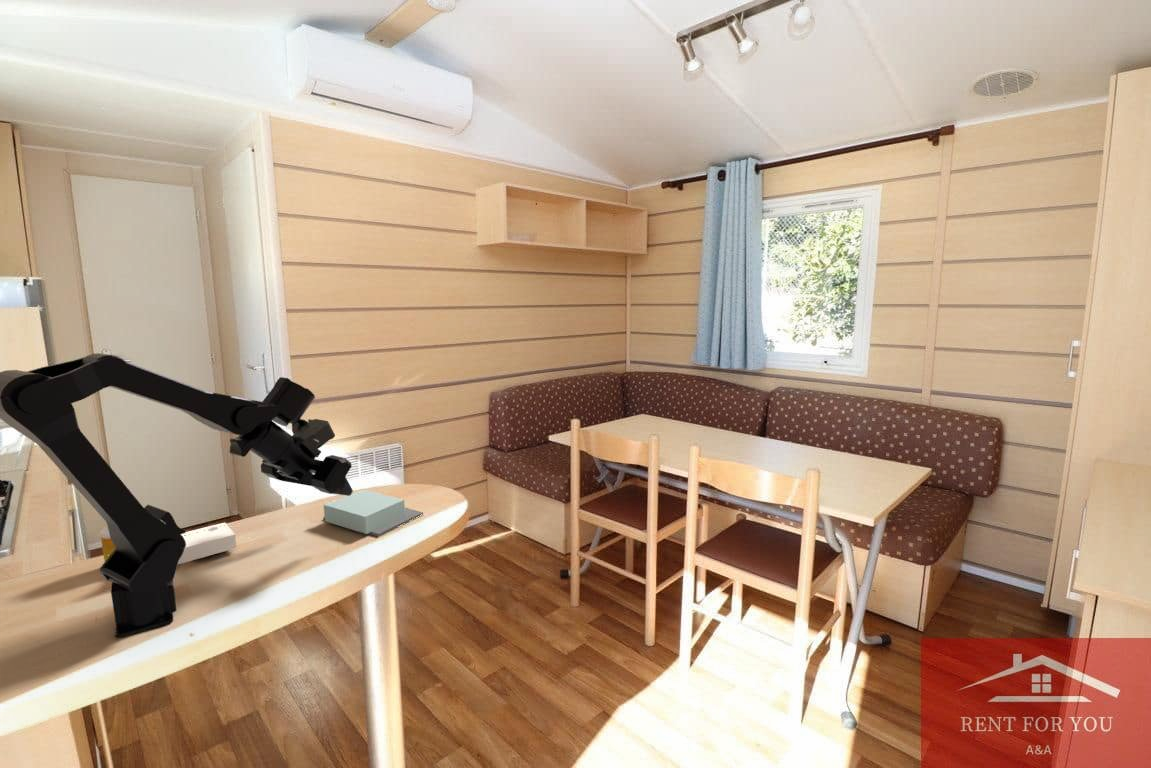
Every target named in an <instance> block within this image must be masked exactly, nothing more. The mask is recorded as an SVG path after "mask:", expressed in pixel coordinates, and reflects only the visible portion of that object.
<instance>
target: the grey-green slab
mask: <svg viewBox="0 0 1151 768" xmlns="http://www.w3.org/2000/svg"><path fill="white" fill-rule="evenodd" d="M405 508H406V506H405V499H403V498H399V497H395V496H392V495H388V494H383V493H380V492H376V491H371V490H368V489H364V488H363V489H361V490H359V491H356V492H352V494H351V495H350V496H347V495H344V496H342V497H340V498H338V499H335V500H333V501H330V502H328V503H325V504H323V513H324V516H323V517H325V520H324V522H326V523H329V524H334V525H336V526H339V527H342V528H345V529H346V528H347V529H348V530H352V531H356V532H359V533H362V534H365V535H368V533H370V532H372V531H374V530H376V529H378V528H380V527H382V526H384V525H386V524H389V523H391V522H393V521H395V520H397V519H399V518H401V517H403V516H405Z"/></svg>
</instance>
